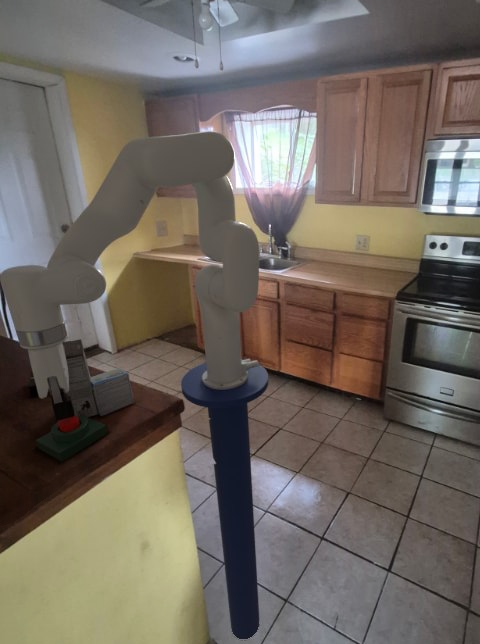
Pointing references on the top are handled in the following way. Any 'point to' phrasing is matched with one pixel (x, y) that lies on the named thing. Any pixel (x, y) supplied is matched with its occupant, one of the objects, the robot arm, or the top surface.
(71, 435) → the switch block
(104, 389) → the medicine box
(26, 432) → the top surface
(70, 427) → the light button
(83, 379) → the coffee box
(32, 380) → the dial panel
